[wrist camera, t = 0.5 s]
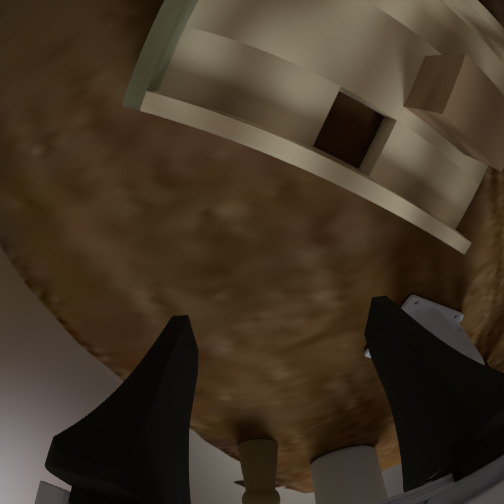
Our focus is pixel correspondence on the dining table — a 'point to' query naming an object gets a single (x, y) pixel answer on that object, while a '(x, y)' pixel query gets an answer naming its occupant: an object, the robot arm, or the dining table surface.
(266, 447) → the cork
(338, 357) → the dining table surface
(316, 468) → the cylinder vase
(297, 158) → the trap box
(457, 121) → the walnut block
